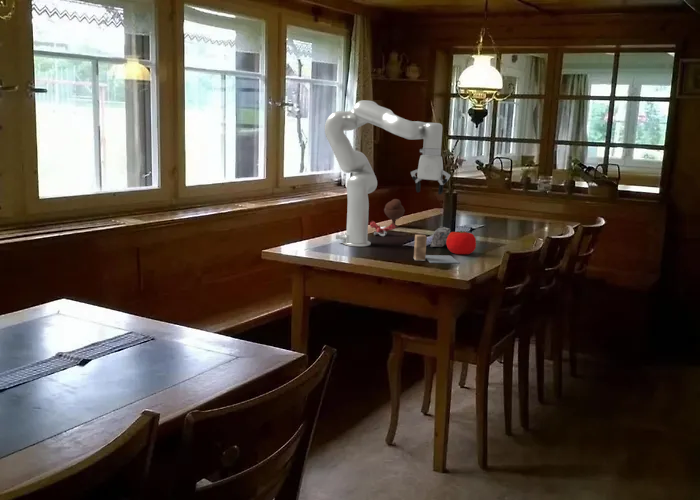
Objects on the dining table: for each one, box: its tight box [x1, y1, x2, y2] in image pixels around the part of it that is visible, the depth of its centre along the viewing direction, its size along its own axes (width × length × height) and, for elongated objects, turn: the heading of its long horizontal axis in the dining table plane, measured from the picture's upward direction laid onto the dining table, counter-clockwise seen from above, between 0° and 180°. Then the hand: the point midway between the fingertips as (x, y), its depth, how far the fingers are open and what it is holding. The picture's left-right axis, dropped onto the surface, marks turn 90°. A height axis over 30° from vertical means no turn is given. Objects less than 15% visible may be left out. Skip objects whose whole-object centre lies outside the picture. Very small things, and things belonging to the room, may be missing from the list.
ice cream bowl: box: [383, 198, 406, 229], centre depth 380 cm, size 11×11×15 cm
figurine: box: [368, 220, 396, 237], centre depth 357 cm, size 15×12×7 cm
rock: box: [430, 225, 451, 248], centre depth 335 cm, size 16×8×10 cm, turn 146°
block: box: [413, 234, 428, 261], centre depth 303 cm, size 4×4×10 cm
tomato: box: [445, 230, 477, 255], centre depth 318 cm, size 11×13×10 cm
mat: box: [425, 254, 460, 264], centre depth 305 cm, size 12×14×1 cm
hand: (429, 193), depth 312 cm, fingers open, 9 cm apart
